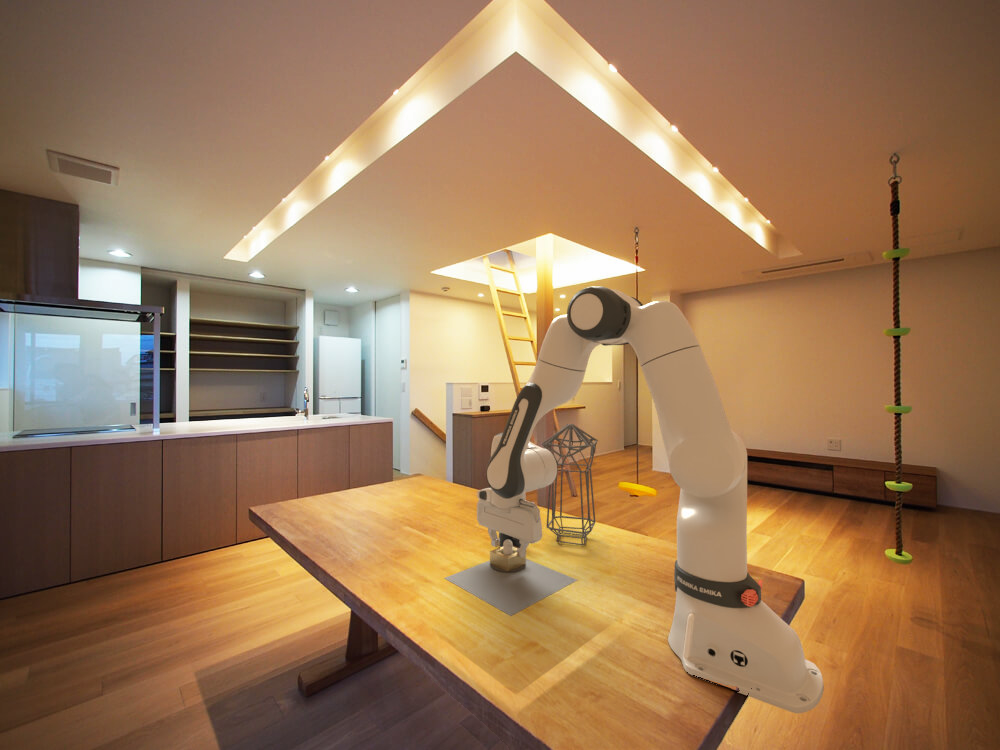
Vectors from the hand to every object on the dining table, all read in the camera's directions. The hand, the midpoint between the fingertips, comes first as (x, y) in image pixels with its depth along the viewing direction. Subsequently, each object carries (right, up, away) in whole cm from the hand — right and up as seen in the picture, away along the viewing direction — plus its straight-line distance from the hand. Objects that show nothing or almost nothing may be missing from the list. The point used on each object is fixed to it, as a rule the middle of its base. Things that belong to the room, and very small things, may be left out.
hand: (508, 551), depth 104 cm
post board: (+1, -5, -8) cm, 9 cm away
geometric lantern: (+20, -6, +21) cm, 30 cm away
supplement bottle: (+1, -6, +16) cm, 17 cm away
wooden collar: (0, -3, 0) cm, 3 cm away
